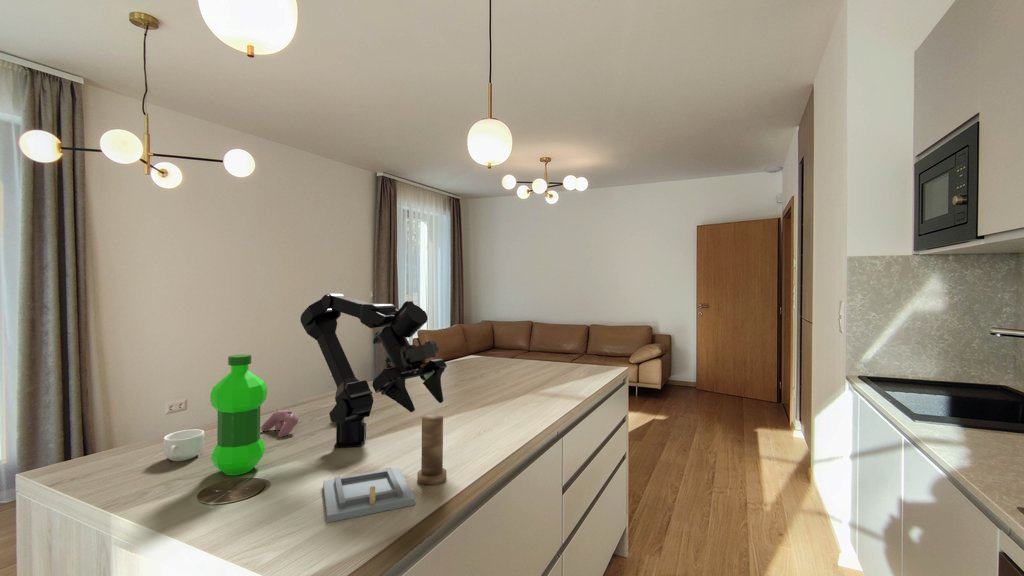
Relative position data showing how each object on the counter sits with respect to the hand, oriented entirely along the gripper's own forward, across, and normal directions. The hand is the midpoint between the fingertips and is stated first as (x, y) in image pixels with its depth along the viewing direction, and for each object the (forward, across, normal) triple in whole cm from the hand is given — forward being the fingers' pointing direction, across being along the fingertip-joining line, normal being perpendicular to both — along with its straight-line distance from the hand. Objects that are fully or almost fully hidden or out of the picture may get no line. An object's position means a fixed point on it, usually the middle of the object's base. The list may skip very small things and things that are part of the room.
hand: (428, 406), depth 100 cm
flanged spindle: (+14, -4, +4) cm, 15 cm away
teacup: (-20, -28, +48) cm, 59 cm away
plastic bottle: (-10, -24, +34) cm, 43 cm away
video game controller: (-20, -5, +48) cm, 52 cm away
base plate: (+10, -17, +8) cm, 21 cm away
